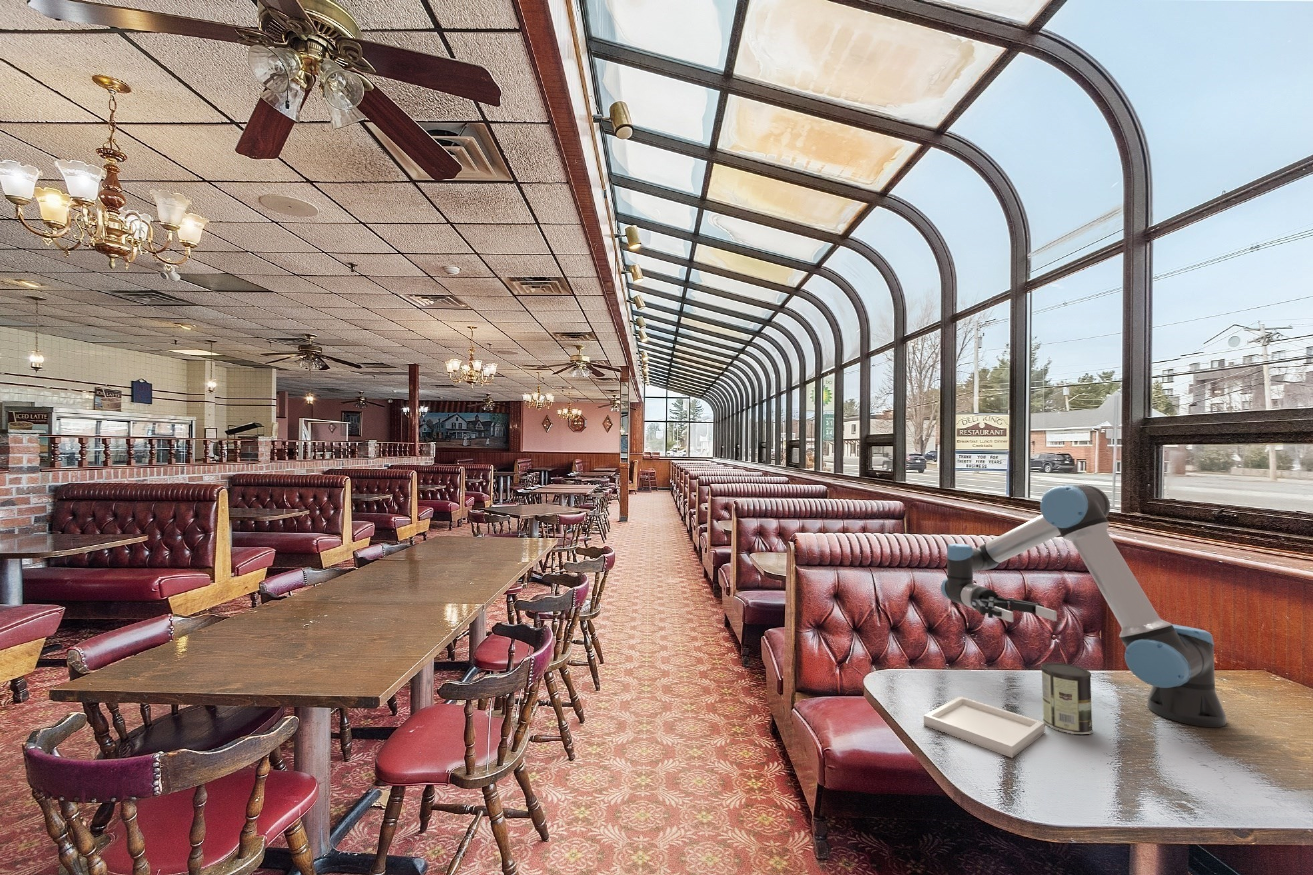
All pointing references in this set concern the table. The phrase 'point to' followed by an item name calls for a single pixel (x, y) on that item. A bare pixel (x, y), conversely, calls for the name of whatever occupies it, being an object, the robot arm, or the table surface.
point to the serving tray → (985, 725)
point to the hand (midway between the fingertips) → (1034, 616)
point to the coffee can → (1067, 698)
